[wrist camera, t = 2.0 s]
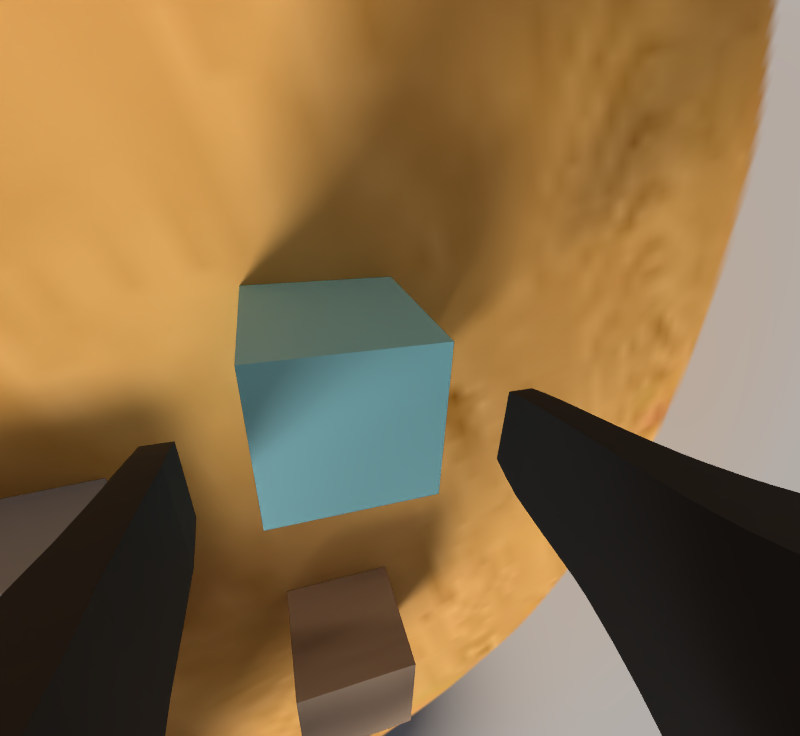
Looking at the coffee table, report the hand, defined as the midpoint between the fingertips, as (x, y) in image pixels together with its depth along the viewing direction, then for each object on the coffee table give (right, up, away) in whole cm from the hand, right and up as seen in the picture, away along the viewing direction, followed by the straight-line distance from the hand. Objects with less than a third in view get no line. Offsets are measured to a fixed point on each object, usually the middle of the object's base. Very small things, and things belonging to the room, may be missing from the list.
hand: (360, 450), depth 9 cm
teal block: (-2, +2, +5) cm, 6 cm away
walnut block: (-2, -10, +11) cm, 15 cm away
